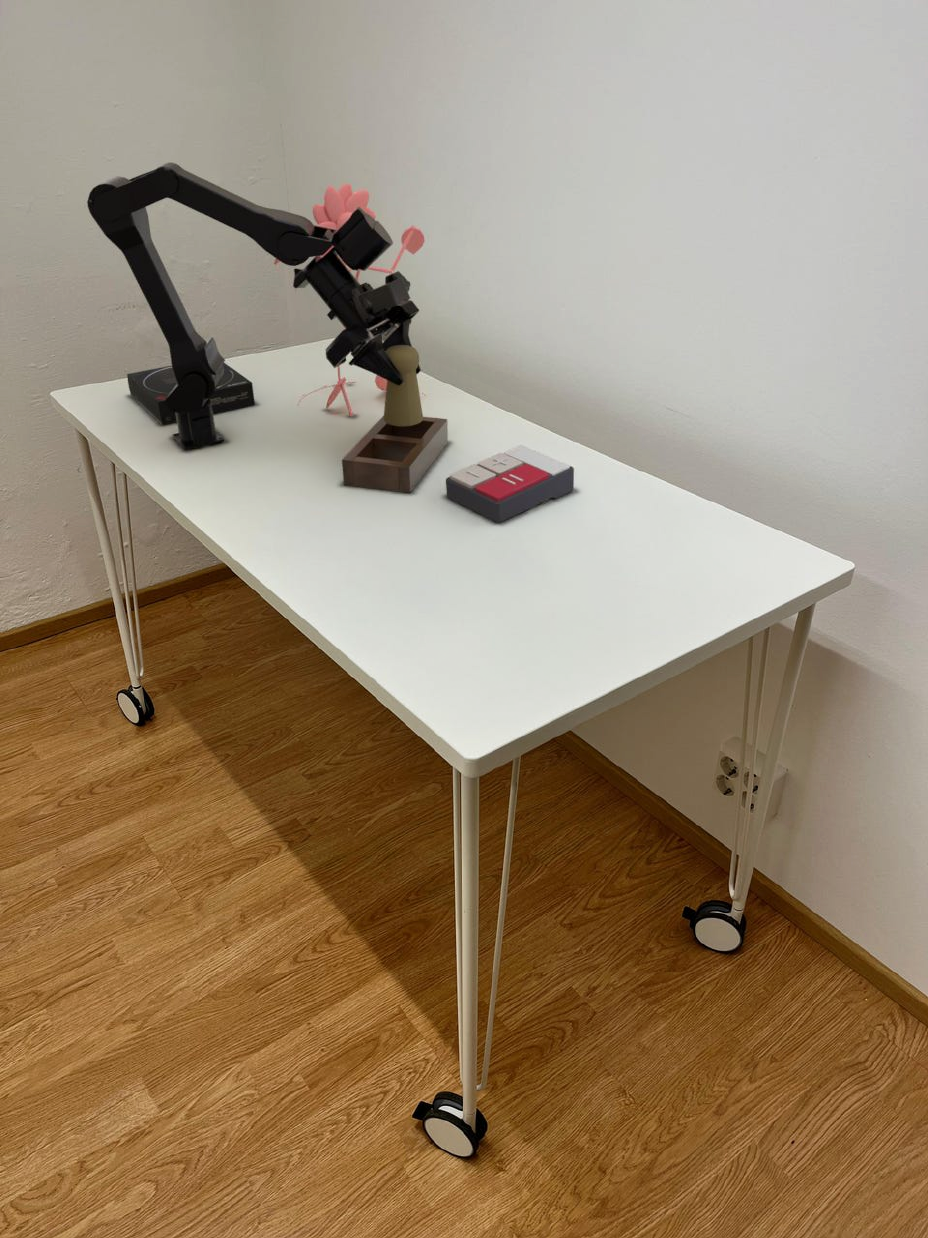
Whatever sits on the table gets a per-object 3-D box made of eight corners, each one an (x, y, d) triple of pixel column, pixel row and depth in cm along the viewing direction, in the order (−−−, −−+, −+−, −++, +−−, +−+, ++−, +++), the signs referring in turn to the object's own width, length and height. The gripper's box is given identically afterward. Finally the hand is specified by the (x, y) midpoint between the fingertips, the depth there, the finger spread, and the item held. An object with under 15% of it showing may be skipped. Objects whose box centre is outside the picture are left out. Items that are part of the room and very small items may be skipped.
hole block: (343, 485, 143) (341, 459, 140) (387, 436, 158) (386, 412, 155) (410, 493, 140) (409, 467, 138) (447, 442, 155) (447, 418, 153)
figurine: (438, 394, 173) (434, 180, 154) (312, 430, 160) (290, 200, 141) (388, 371, 183) (378, 168, 164) (266, 403, 170) (240, 186, 151)
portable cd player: (218, 377, 181) (215, 355, 179) (255, 404, 169) (252, 382, 167) (130, 394, 174) (125, 372, 172) (162, 425, 162) (157, 402, 160)
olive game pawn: (383, 411, 151) (380, 341, 145) (422, 410, 152) (421, 340, 146) (383, 426, 146) (380, 354, 140) (424, 425, 147) (422, 353, 141)
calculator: (443, 473, 137) (521, 439, 145) (445, 500, 139) (521, 466, 147) (497, 499, 130) (575, 462, 138) (498, 527, 132) (575, 489, 140)
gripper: (338, 271, 131) (412, 364, 133) (406, 243, 145) (472, 328, 147) (294, 322, 138) (365, 410, 140) (363, 290, 152) (426, 371, 154)
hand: (410, 378), depth 145 cm, fingers closed on olive game pawn, 5 cm apart
